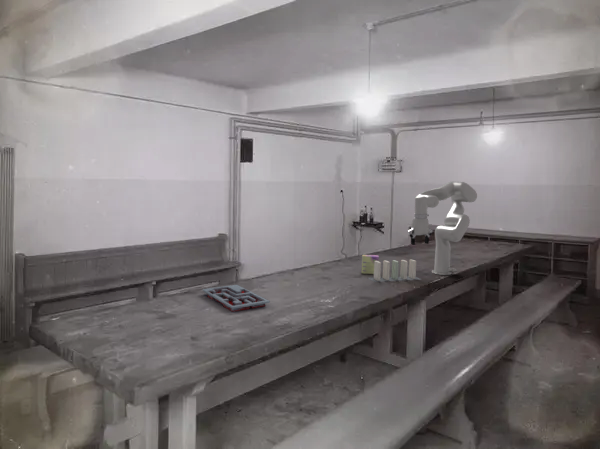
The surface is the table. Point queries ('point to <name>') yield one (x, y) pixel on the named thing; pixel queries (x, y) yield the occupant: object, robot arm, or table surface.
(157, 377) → the table surface
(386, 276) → the domino
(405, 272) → the domino
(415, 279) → the mat
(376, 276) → the domino
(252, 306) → the maze game
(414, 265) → the domino
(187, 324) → the table surface
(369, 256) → the box
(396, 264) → the domino
